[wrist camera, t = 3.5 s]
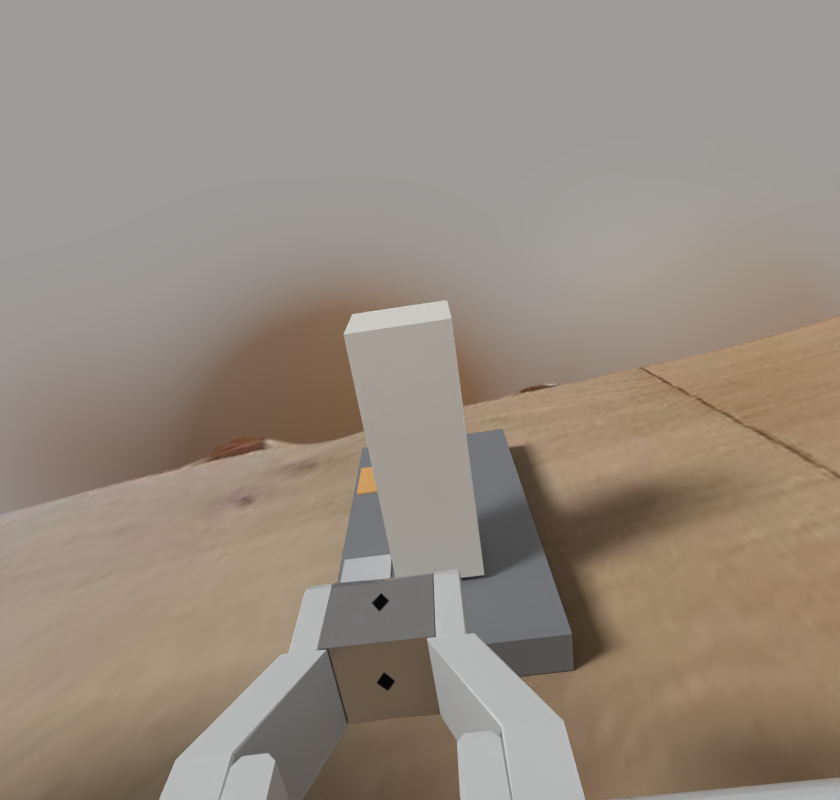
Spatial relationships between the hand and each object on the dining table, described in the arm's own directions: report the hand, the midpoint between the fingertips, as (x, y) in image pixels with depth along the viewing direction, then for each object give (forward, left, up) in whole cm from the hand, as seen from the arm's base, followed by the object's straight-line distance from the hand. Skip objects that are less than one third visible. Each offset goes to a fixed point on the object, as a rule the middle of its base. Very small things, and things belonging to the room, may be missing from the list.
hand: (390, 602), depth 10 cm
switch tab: (-11, -6, -9) cm, 16 cm away
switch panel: (-14, -9, -12) cm, 20 cm away
